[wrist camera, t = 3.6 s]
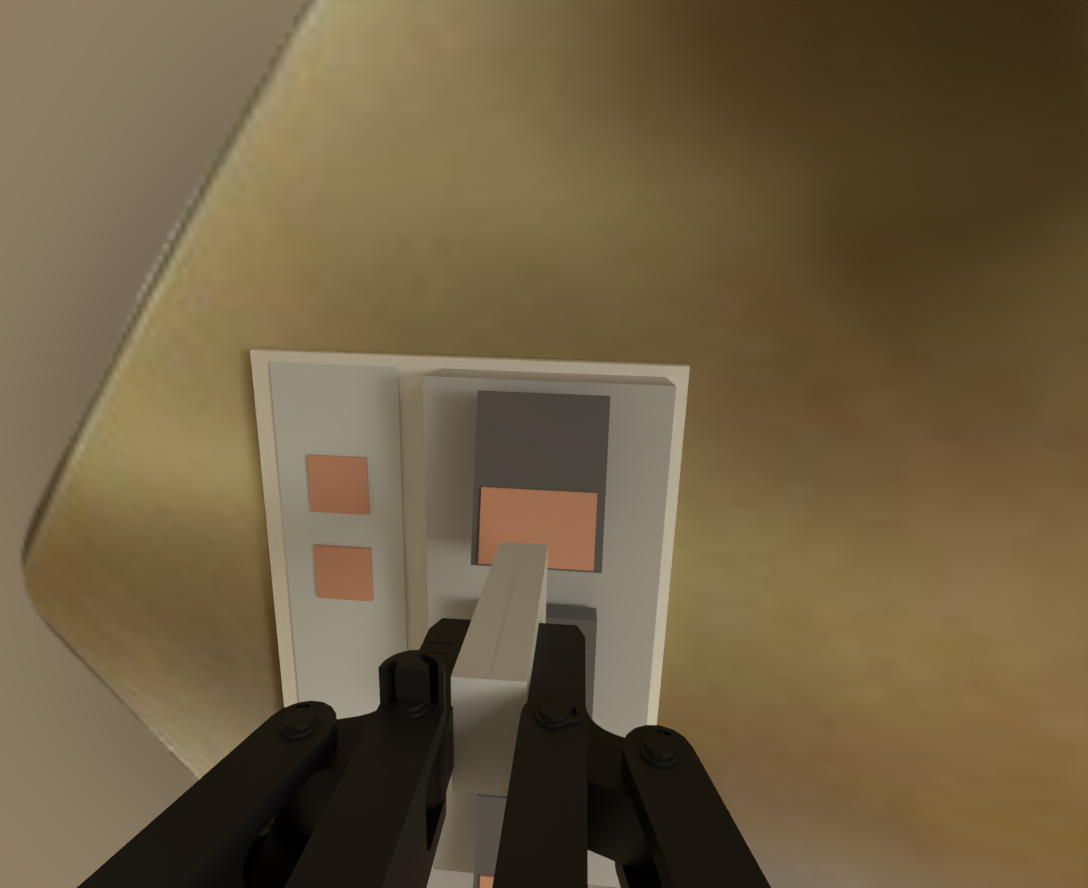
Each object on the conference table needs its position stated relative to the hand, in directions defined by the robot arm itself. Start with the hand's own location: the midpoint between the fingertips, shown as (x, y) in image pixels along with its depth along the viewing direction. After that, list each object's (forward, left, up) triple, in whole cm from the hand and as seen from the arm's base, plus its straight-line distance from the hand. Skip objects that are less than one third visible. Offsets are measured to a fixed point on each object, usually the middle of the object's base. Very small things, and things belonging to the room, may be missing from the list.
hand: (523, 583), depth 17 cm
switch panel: (+7, -4, -10) cm, 13 cm away
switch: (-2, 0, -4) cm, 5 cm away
